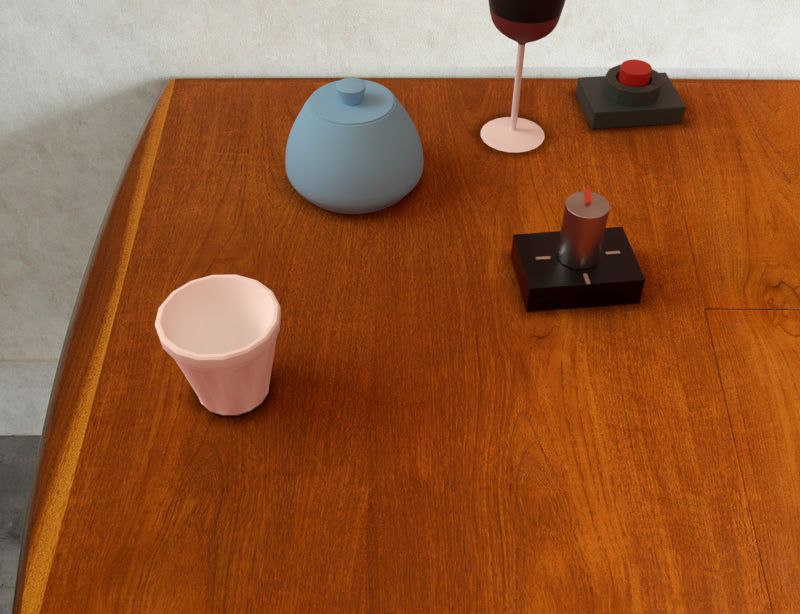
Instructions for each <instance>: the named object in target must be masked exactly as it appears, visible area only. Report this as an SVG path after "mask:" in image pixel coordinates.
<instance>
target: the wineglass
mask: <svg viewBox="0 0 800 614" xmlns="http://www.w3.org/2000/svg"><path fill="white" fill-rule="evenodd" d="M565 4H566V0H488V8H489V9H488V10H489V14H490V18H491V21H492V23H493V25H494V27H495V29H497V30H498V31H499V33H501V34H502V35H504V36H505V37H506V38H508V39H510V40H511V41H514V42H516V43H517V51H516V62H515V73H514V82H513V93H512V103H511V110H510V111H511V113H510V116H503V117H497V118H494V119H492V120H489V121H487V122H486V123H485V124H483V126H482V128H481V129H480V138H481V140H482V141H483V143H484V144H486V145H487V146H488V147H490V148H492V149H494V150H497V151H500V152H504V153H513V154H514V153H515V154H516V153H525V152H530V151H532V150H535V149H537V148H538V147H539V146H541V145H542V144H543V142H544V140H545V139H546V137H545V131H544V130H543V129H542V127H541V126H540V125H538V123H536V122H534V121H532V120H530V119H526V118H523V117H518V116H519V107H520V98H521V97H520V96H521V88H522V79H523V69H524V59H525V50H526V44H528V43H532V42H536V41H539V40H541V39H543V38H546V37H547V36H548V35H550V34H551V33H552V32H553V31H554V30H555V28H556V27H557V26H558V23H559V21H560V18H561V16H562V12H563V9H564V7H565Z"/></svg>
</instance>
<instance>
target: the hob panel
mask: <svg viewBox="0 0 800 614" xmlns="http://www.w3.org/2000/svg"><path fill="white" fill-rule="evenodd" d="M560 232H561V230H557V231H541V232H527V233H514V234H513V235H512V244H511V252H510V261H511V264H512V268H513V270H514V274H515V278H516V280H517V284H518V288H519V291H520V294H521V298H522V301H523V304H524V307H525V311H526V313H533V312H544V311H546V312H547V311H557V310H559V311H560V310H570V309H582V308H594V307H595V308H596V307H608V306H621V305H632V304H640V302H641V298H642V295H643V291H644V287H645V284H646V277H645V275H644V273H643V270H642V268H641V266H640V263H639V261H638V259H637V257H636V253H635V252H634V250H633V248H632V246H631V243H630V241H629V238H628V236H627V234H626V232H625V229H624V227H623V226H611V227H610V226H609V227H606V229H605V233H604V238H603V243H602V247H601V252H600V257H599V261H598V262H597V264H596V265H594V266H593V267H591V268H588V269H573V268H570V267H567V266H565V265H564V264H562V263H561V262H560V261H559V259H558V257H557V251H558V245H559V238H560Z"/></svg>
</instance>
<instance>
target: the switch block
mask: <svg viewBox="0 0 800 614" xmlns="http://www.w3.org/2000/svg"><path fill="white" fill-rule="evenodd" d="M621 64H622V63H621ZM621 64H618V65H615V66H613V67H611V68H609V69H608V71H607V72H606V74H605V75H599V76H583V77H578V78H577V83H576V89H575V95H576V97H577V99H578V100H577V101H579V102H578V103H579V104H580V107H581V108H582V110H583V113H584V115H585V117H586V119H587V121H588V124H589V126H590V129H592V130H598V129H599V130H600V129H610V128H612V129H614V128H628V127H629V128H631V127H645V126H658V125H659V126H660V125H674V124H683V121H684V117H685V113H686V109H687V106H686V104H685V102H684V101H683V99H682V97H681V96H680V94H679V92H678V91H677V89H676V88H675V86H674V84H673V82H672V81H671V79H670V77H669V76H668V74H667V73H666V72H658V71H657V70H655V69H653V68H652V71H651V76H650V80H649V84H648V85H646V86H644V87H631V86H626V85H624V84H622V83H620V82H619V80H618V77H619V72H620V67H621Z"/></svg>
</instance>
